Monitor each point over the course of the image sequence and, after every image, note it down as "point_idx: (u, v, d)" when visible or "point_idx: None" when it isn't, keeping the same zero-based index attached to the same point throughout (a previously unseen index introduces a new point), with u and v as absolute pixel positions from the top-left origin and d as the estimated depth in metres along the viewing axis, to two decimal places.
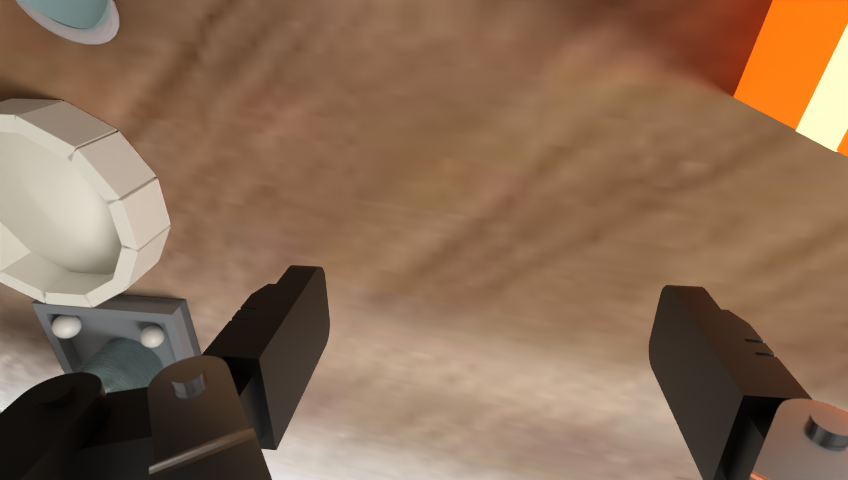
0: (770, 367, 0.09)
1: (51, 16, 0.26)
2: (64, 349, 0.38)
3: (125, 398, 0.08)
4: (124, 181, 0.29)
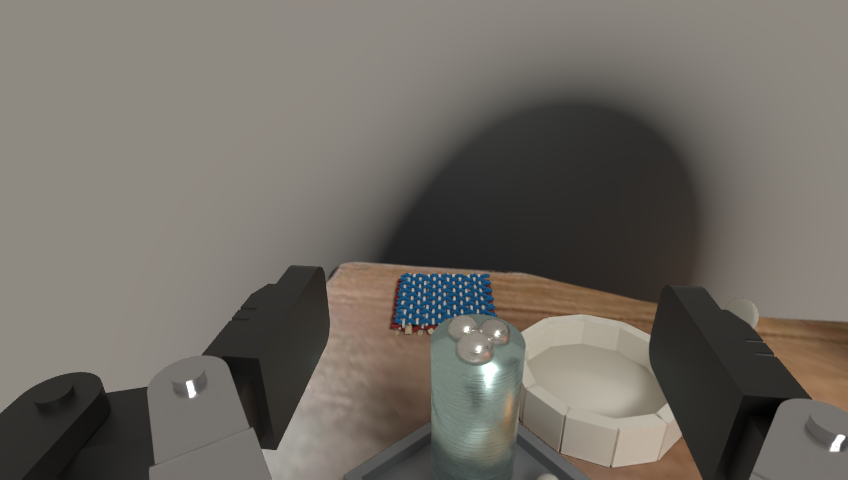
0: (770, 367, 0.09)
1: None
2: None
3: (126, 397, 0.08)
4: None
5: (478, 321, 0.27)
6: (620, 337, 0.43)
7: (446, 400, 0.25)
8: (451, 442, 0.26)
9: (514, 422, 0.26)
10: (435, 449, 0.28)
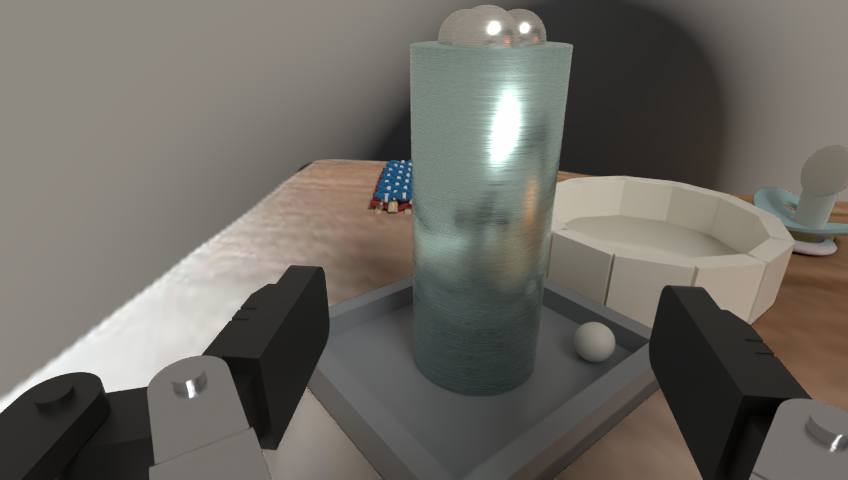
0: (770, 367, 0.09)
1: None
2: None
3: (125, 397, 0.08)
4: None
5: None
6: (672, 199, 0.32)
7: (435, 132, 0.15)
8: (444, 222, 0.16)
9: (550, 191, 0.16)
10: (418, 255, 0.17)
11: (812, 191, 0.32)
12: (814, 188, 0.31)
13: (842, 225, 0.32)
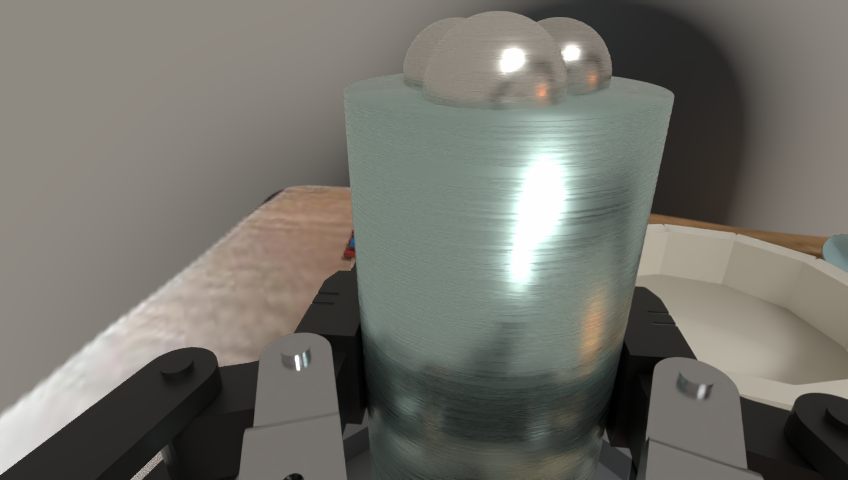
0: (668, 334, 0.10)
1: None
2: None
3: (232, 372, 0.09)
4: None
5: None
6: (732, 258, 0.24)
7: (392, 272, 0.07)
8: (416, 427, 0.08)
9: (615, 363, 0.08)
10: (374, 449, 0.10)
11: None
12: None
13: None
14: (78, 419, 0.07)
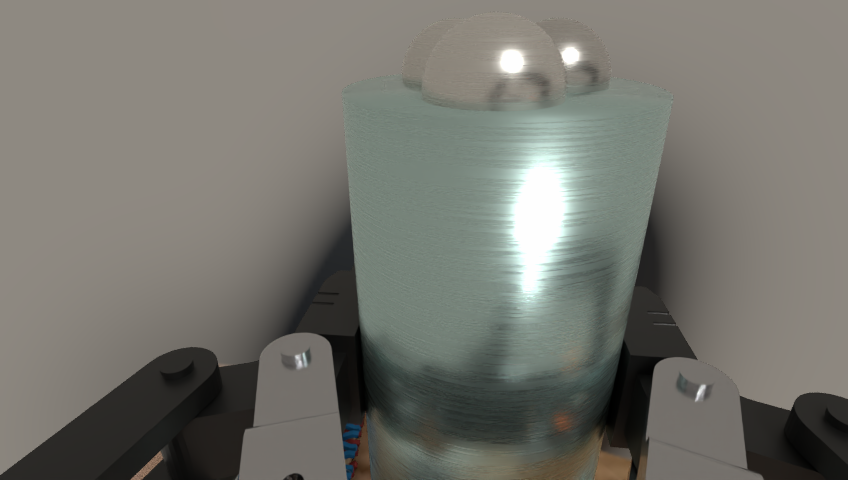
0: (669, 334, 0.10)
1: None
2: None
3: (232, 372, 0.09)
4: None
5: None
6: None
7: (391, 273, 0.07)
8: (414, 428, 0.08)
9: (615, 364, 0.08)
10: (373, 450, 0.10)
11: None
12: None
13: None
14: (78, 419, 0.07)
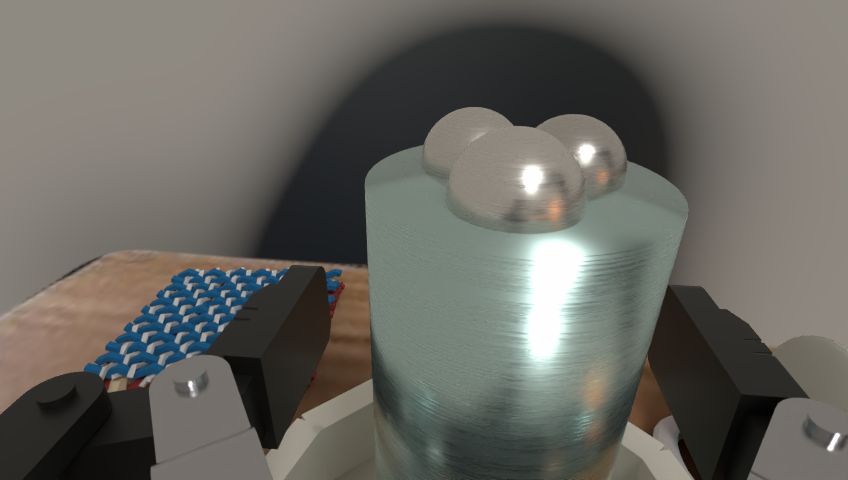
0: (768, 366, 0.09)
1: None
2: None
3: (127, 397, 0.08)
4: None
5: None
6: None
7: (410, 366, 0.07)
8: None
9: (620, 443, 0.09)
10: None
11: None
12: None
13: None
14: None
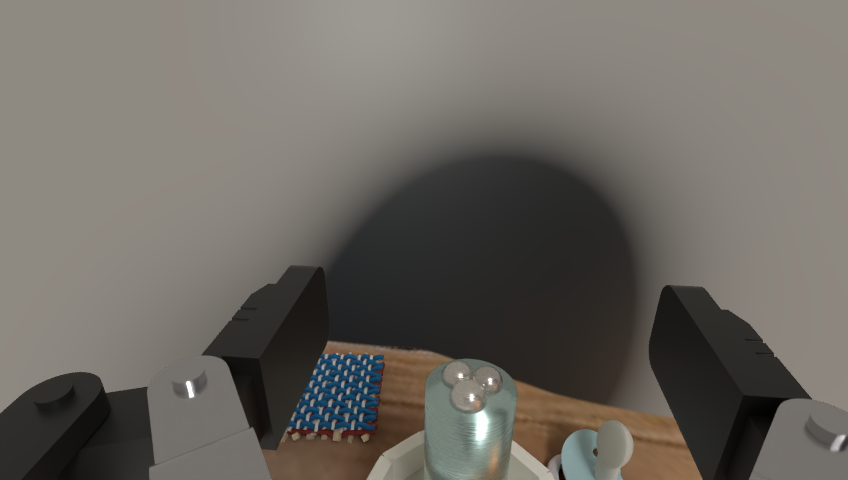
0: (770, 367, 0.09)
1: None
2: None
3: (125, 397, 0.08)
4: None
5: (471, 366, 0.28)
6: None
7: (439, 445, 0.26)
8: None
9: (505, 468, 0.27)
10: None
11: (601, 458, 0.34)
12: (602, 457, 0.34)
13: None
14: None
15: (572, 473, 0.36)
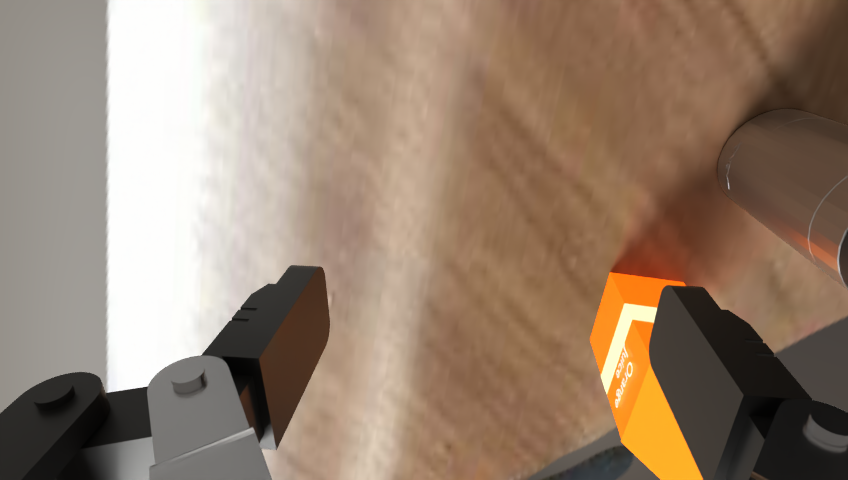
0: (770, 367, 0.09)
1: None
2: None
3: (125, 397, 0.08)
4: None
5: None
6: None
7: None
8: None
9: None
10: None
11: None
12: None
13: None
14: None
15: None
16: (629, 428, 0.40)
